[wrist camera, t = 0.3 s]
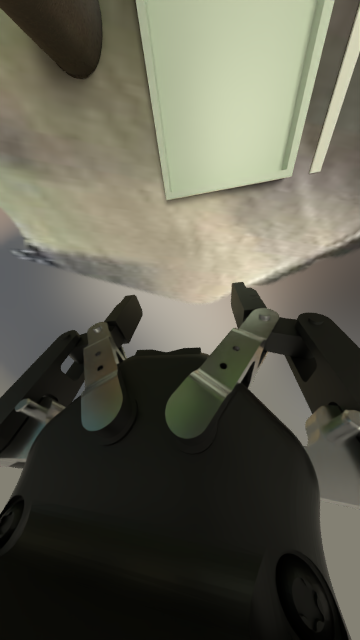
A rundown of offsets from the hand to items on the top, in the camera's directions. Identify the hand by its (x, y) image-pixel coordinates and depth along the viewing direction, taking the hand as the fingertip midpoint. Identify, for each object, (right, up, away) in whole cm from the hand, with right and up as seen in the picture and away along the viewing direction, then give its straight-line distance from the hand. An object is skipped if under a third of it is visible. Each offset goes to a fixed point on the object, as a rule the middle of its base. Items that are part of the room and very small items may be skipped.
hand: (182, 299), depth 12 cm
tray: (+7, +33, +10) cm, 35 cm away
